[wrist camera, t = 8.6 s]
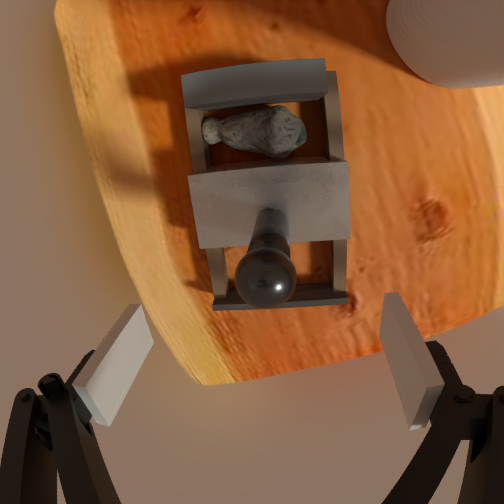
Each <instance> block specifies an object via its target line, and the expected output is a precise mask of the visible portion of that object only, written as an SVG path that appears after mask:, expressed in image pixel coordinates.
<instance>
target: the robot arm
mask: <svg viewBox="0 0 504 504" xmlns="http://www.w3.org/2000/svg"><path fill="white" fill-rule="evenodd" d="M379 337H380V340H381V342H382V345H383V348H384V351H385V354H386V357H387V360H388V363H389V366H390V369H391V371H392V375H393V378H394V381H395V384H396V387H397V391H398V394H399V397H400V400H401V404H402V407H403V410H404V414H405V417H406V421H407V424H408V427H409V430H414V429H419V428H423V427H426V425H427V423H428V421H429V419H430V422H431V425H432V426H431V427H430V429H429V431H428V433H427V435H426V437H425V438H424V440H423V442H422V444H421V445H420V447H419V449H418V450H417V452H416V454H415V455H414V457H413V459H412V460H411V462H410V464H409V465H408V467H407V468H406V470H405V471H404V473H403V474H402V476H401V477H400V479H399V480H398V482H397V483H396V485H395V486H394V487H393V489H392V490H391V492H390V493H389V494H388V496H387V497H386V498H385V500H384V501H383V503H382V504H428V502H429V501H430V499H431V498H432V496H433V494H434V492H435V491H436V489H437V487H438V485H439V484H440V482H441V480H442V478H443V476H444V474H445V472H446V470H447V468H448V466H449V465H450V463H451V460H452V458H453V456H454V454H455V452H456V450H457V448H458V446H459V443H460V441H461V440H470V442H469V449H468V455H467V462H466V467H465V472H464V477H463V482H462V486H461V491H460V495H459V499H458V503H457V504H504V386H500V387H498V388H497V389H496V390H495V391H494V393H493V394H476V393H475V391H474V390H473V389H472V388H470V387H469V386H466V385H463V384H462V382H461V380H460V378H459V376H458V374H457V372H456V370H455V368H454V366H453V364H452V363H451V360H450V358H449V356H447V353H446V351H445V349H444V347H443V346H442V345H440V344H439V343H438V342H437V341H436V340H435V341H429V342H424V340H423V338H422V336H421V334H420V332H419V330H418V328H417V326H416V324H415V322H414V321H413V319H412V317H411V315H410V313H409V311H408V309H407V308H406V306H405V304H404V302H403V300H402V299H401V297H400V295H399V293H398V292H393V293H384V300H383V309H382V317H381V325H380V332H379ZM153 343H154V342H153V339H152V336H151V333H150V330H149V327H148V325H147V322H146V319H145V315H144V312H143V309H142V306H141V304H129V306H128V307H127V309H126V310H125V311H124V312H123V314H122V315H121V316H120V318H119V319H118V320H117V322H116V323H115V324H114V326H113V327H112V328H111V330H110V331H109V332H108V334H107V335H106V336H105V338H104V339H103V341H102V342H101V344H100V345H99V346H98V348H97V349H96V350H91V351H90V352H89V353H88V354H86V355H85V356H84V358H83V359H82V360H81V362H80V363H79V364H78V366H77V368H76V369H75V370H74V372H73V373H72V374H71V376H70V377H69V379H68V380H67V381H66V383H64V382H63V380H62V378H61V377H60V375H59V374H57V373H50V374H47V375H45V376H44V377H42V378H41V379H40V381H39V382H38V388H39V389H40V391H41V392H42V394H43V395H36V393H35V392H34V390H33V389H31V388H25V389H23V390H21V391H19V393H18V394H17V395H16V397H15V400H14V403H13V408H12V411H11V416H10V419H9V424H8V428H7V433H6V438H5V443H4V448H3V454H2V459H1V466H0V504H57V469H58V473H59V478H60V482H61V486H62V490H63V493H64V497H65V500H66V504H121V502H120V500H119V497H118V495H117V493H116V491H115V488H114V486H113V483H112V481H111V478H110V476H109V473H108V471H107V468H106V465H105V463H104V460H103V458H102V454H101V452H100V449H99V446H98V443H97V440H96V437H95V433H94V430H93V427H92V425H91V423H90V422H89V421H90V419H91V417H92V416H93V418H94V419H95V421H96V422H97V423H98V424H102V425H106V426H110V425H111V423H112V421H113V419H114V417H115V415H116V413H117V411H118V409H119V407H120V405H121V404H122V401H123V400H124V398H125V396H126V394H127V392H128V390H129V388H130V386H131V384H132V382H133V380H134V379H135V377H136V375H137V373H138V371H139V369H140V367H141V365H142V363H143V362H144V360H145V357H146V356H147V354H148V352H149V350H150V349H151V346H152V345H153Z"/></svg>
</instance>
